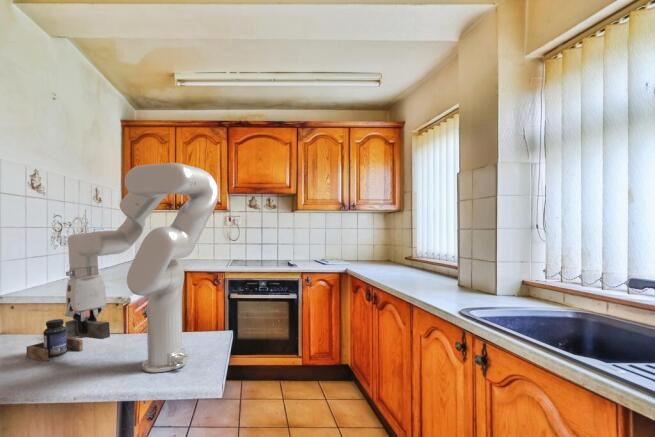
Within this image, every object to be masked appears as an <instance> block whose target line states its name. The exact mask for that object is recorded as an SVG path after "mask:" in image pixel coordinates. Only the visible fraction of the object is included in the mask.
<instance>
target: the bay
mask: <svg viewBox="0 0 655 437" xmlns="http://www.w3.org/2000/svg"><path fill="white" fill-rule="evenodd" d="M66 339H67V350H72V351H76V352H83V351H84V350H83V346H84V341H83V339H80V338H74V337H71V338H66ZM26 359H32V360H34V361H35V360H36V361H38V362H44V363H46V362H49V357H48V349H44V341H42V342H39V343H35V344H32V345H28V346H26Z"/></svg>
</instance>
